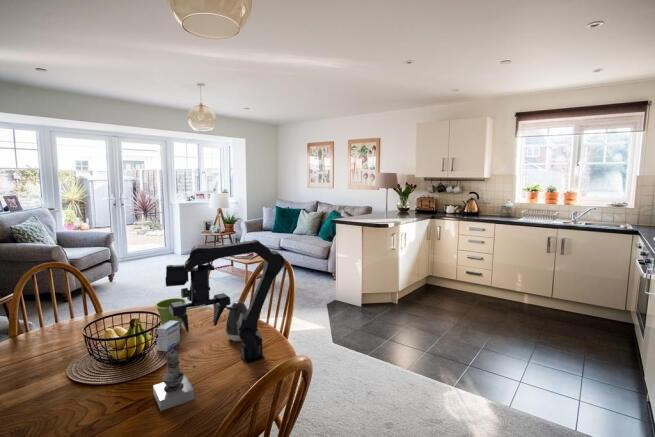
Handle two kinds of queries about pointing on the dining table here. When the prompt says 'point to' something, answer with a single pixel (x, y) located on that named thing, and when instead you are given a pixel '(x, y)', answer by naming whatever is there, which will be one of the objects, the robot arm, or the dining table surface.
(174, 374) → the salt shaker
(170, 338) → the medicine box
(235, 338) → the pump dispenser
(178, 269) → the robot arm
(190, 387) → the rectangular block
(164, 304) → the plant pot
